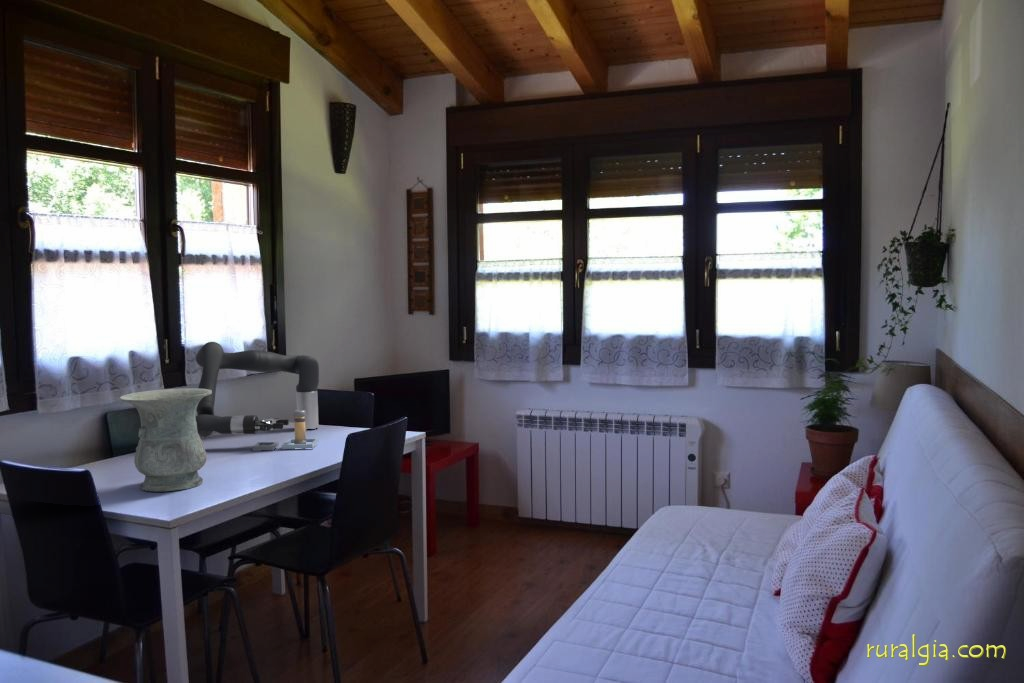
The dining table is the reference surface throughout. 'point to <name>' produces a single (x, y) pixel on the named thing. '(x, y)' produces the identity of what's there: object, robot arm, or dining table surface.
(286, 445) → the parts tray
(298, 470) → the dining table surface
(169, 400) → the vessel
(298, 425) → the grey capped cylinder
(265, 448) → the socket block
